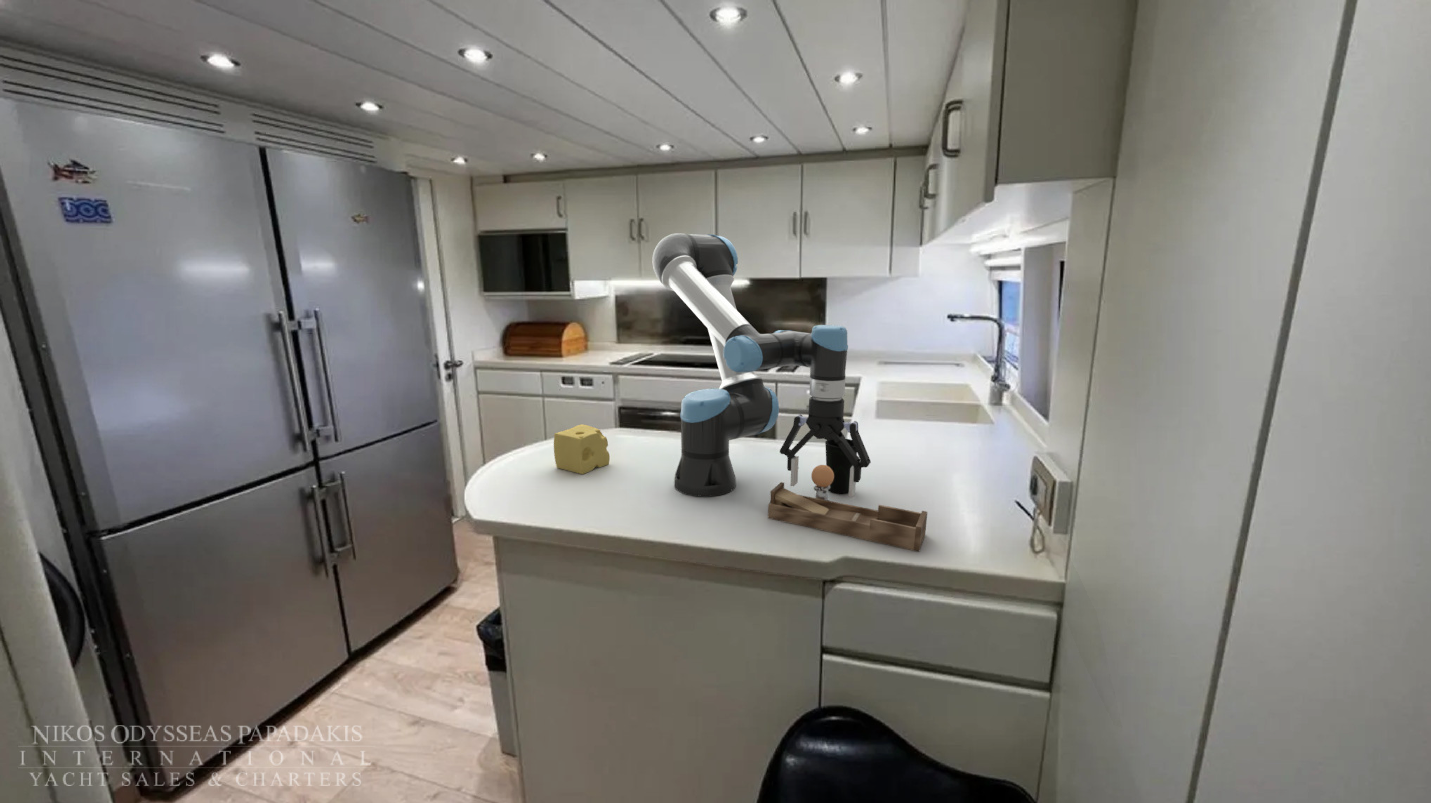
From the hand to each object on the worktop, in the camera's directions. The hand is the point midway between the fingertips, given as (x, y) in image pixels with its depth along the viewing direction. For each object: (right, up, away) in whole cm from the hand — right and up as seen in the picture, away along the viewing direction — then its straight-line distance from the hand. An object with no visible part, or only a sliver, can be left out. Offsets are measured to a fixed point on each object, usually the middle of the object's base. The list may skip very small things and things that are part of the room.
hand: (822, 489), depth 126 cm
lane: (+3, -6, -9) cm, 12 cm away
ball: (0, +3, -1) cm, 3 cm away
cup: (+6, -2, +10) cm, 12 cm away
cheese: (-60, +2, +25) cm, 65 cm away
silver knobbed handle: (0, -4, +1) cm, 4 cm away
